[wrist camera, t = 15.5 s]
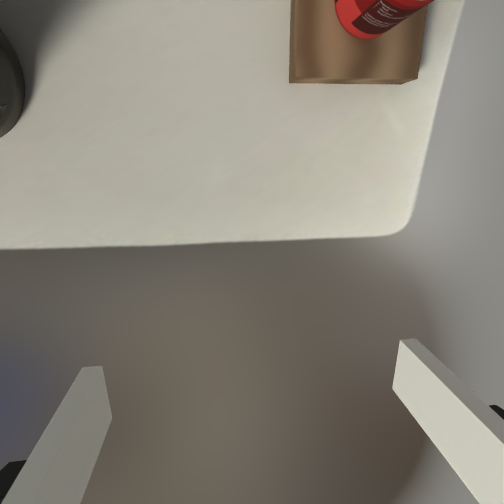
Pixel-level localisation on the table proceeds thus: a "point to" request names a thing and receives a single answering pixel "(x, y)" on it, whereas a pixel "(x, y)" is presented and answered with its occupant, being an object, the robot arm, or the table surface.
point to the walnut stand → (351, 48)
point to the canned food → (374, 15)
